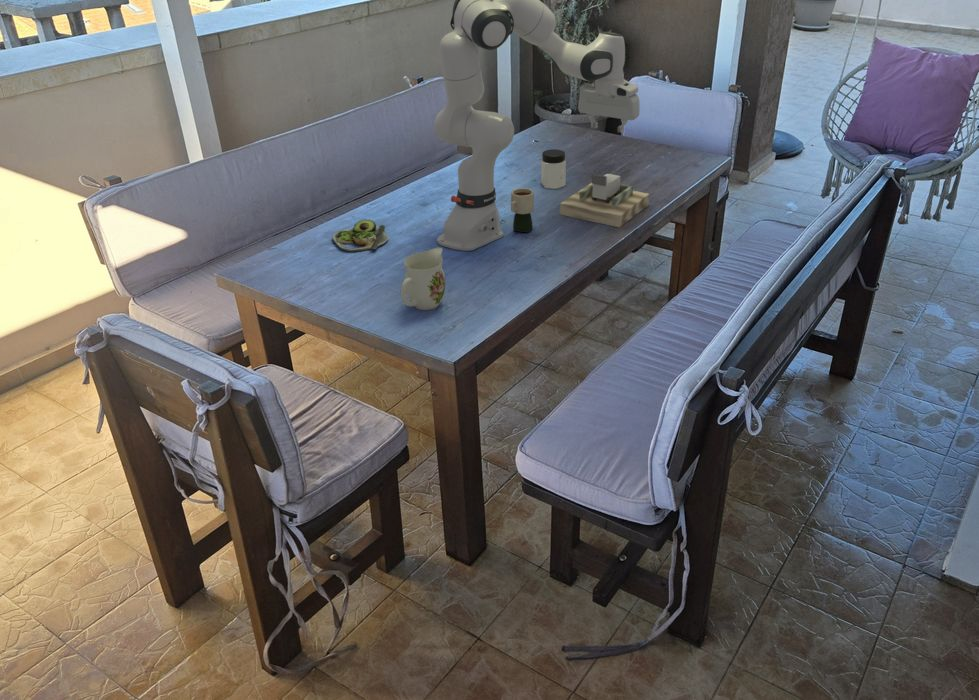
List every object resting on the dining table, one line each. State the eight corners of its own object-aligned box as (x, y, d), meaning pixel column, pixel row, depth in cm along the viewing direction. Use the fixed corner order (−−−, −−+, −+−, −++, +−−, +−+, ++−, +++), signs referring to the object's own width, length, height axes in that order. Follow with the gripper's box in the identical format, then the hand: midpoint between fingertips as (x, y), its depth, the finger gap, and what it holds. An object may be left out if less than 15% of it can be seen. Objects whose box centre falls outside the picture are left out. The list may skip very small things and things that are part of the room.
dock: (619, 227, 272) (620, 207, 268) (560, 214, 282) (560, 194, 279) (648, 205, 287) (650, 185, 283) (591, 193, 298) (591, 174, 294)
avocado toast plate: (399, 248, 264) (398, 235, 262) (344, 260, 259) (342, 246, 256) (382, 227, 280) (380, 214, 277) (329, 237, 274) (327, 223, 272)
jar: (553, 191, 301) (553, 158, 295) (536, 185, 306) (536, 153, 300) (570, 184, 306) (570, 152, 300) (553, 179, 312) (553, 147, 305)
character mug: (524, 222, 278) (524, 184, 271) (542, 227, 274) (541, 189, 267) (503, 232, 271) (502, 194, 264) (520, 238, 267) (520, 199, 260)
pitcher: (388, 315, 227) (383, 269, 220) (427, 288, 240) (424, 243, 233) (421, 325, 222) (417, 278, 215) (459, 296, 235) (457, 251, 228)
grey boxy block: (605, 205, 278) (607, 177, 273) (589, 201, 281) (590, 174, 276) (620, 194, 285) (622, 167, 280) (605, 191, 288) (606, 164, 283)
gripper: (575, 84, 267) (574, 128, 274) (634, 92, 257) (631, 137, 264) (584, 80, 271) (583, 122, 278) (643, 87, 261) (640, 131, 268)
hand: (607, 129), depth 271 cm, fingers open, 8 cm apart
